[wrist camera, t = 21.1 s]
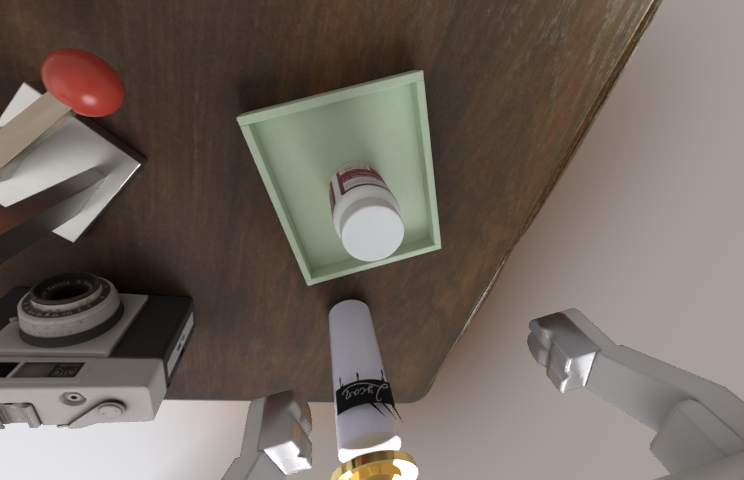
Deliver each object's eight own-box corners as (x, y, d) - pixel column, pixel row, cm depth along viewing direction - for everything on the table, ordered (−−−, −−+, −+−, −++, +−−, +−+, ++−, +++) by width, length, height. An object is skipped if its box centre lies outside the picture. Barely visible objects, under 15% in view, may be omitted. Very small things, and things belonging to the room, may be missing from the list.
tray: (242, 113, 22) (235, 117, 20) (414, 69, 22) (423, 70, 21) (307, 272, 30) (307, 286, 28) (433, 237, 30) (441, 248, 29)
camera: (193, 265, 27) (140, 355, 19) (196, 330, 31) (153, 430, 22) (-5, 247, 24) (-184, 350, 15) (26, 324, 27) (-104, 441, 19)
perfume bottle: (373, 326, 35) (432, 570, 18) (324, 332, 34) (337, 595, 17) (374, 287, 32) (445, 535, 15) (320, 293, 31) (332, 562, 14)
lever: (84, 52, 17) (66, 21, 14) (141, 98, 18) (135, 79, 16) (-150, 234, 13) (-231, 240, 11) (-54, 273, 15) (-105, 286, 12)
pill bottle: (363, 222, 27) (382, 277, 20) (317, 197, 25) (320, 248, 18) (394, 179, 26) (425, 222, 19) (347, 149, 24) (362, 185, 17)
